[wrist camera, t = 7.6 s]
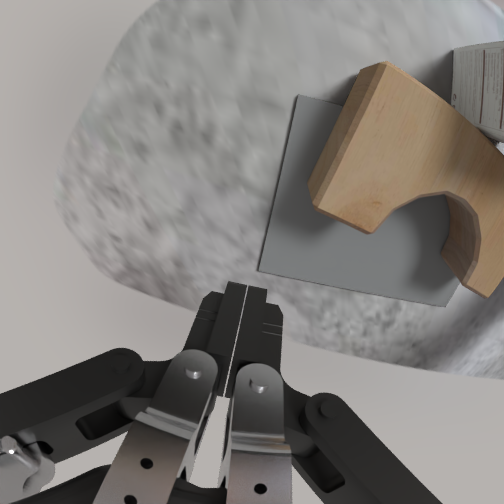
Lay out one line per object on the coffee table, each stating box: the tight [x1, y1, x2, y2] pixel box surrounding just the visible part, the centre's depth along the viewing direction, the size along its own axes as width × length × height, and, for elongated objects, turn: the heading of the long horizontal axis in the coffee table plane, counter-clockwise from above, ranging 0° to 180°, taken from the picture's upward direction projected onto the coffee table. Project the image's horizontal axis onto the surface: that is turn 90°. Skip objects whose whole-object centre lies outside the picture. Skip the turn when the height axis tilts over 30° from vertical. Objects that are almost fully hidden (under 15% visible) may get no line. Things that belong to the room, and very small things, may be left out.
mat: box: [259, 95, 460, 307], centre depth 23 cm, size 22×16×1 cm
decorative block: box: [307, 61, 504, 298], centre depth 19 cm, size 11×6×20 cm
